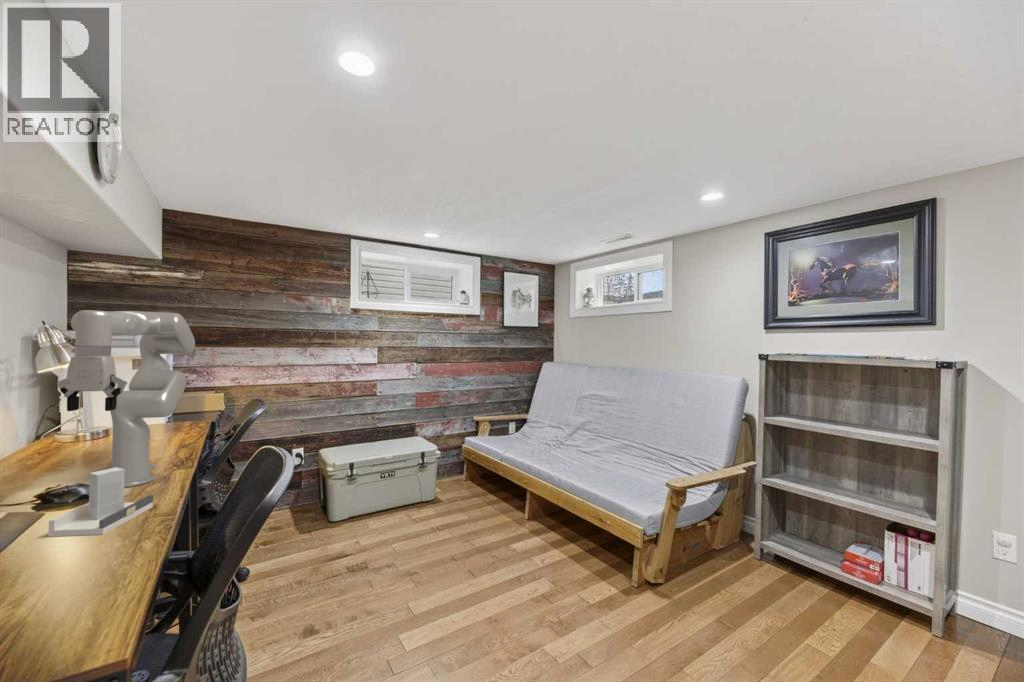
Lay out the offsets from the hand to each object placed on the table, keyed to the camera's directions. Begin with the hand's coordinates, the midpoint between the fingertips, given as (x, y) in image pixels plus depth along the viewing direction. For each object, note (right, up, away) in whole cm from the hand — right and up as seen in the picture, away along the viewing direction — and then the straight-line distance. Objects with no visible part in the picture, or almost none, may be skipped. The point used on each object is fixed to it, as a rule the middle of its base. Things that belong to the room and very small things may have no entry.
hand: (91, 410), depth 123 cm
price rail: (+19, -27, -8) cm, 34 cm away
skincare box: (+13, -27, -9) cm, 31 cm away
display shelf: (+13, -29, -9) cm, 33 cm away
